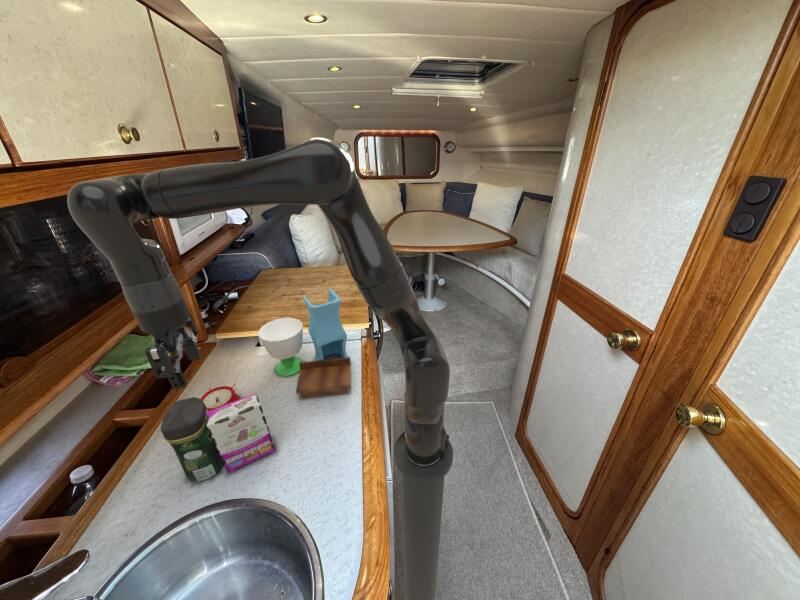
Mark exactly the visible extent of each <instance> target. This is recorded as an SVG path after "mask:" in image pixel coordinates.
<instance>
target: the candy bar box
mask: <svg viewBox="0 0 800 600" xmlns="http://www.w3.org/2000/svg"><path fill="white" fill-rule="evenodd" d="M206 422H207V428H208V430H209V433H210V435H211V437H212V439H213V441H214V443H215V445H216V447H217V450H218V452H219V454H220V456H221V458H222V460H223V464H224V467H225V469H226V472H227V473H228V474H231V473H234V472H236V471H238V470H240V469H242V468H244V467H246V466H249V465H250V464H252V463H254V462H256V461H258V460H261V459H262V458H264V457H267V456H269V455H271V454H273V453H275V452H277V449H276V445H275V442H274V438H273V436H272V432H271V429H270V427H269V424H268V420H267V418H266V415H265V412H264V408H263V406H262V403H261V400H260V398H259V394H258V392H255V393H252V394H250V395H246V396H244V397H242V398H240V399H239V400H237V401H234V402H231V403H229V404H226V405H224V406H221V407H219V408H216V409H213V410H211V411H208V412H206Z"/></svg>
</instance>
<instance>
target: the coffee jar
mask: <svg viewBox="0 0 800 600" xmlns="http://www.w3.org/2000/svg"><path fill="white" fill-rule="evenodd" d="M206 412H208V410H207V407H206V405H205V404H204V402H203V401H202V400H201V398H199V397H196V396H192V397H188V398H183V399H179V400H176V401H175V402H174V403H173V404H172V405H171V406H169V408H168V409H167V411H166V412H165V414H164V416H163V419H162V422H161V424H160V432H161V434H162V435H163V439H164V440H165V441H166V442H167V443H169V445H170V446H171V448H172V449H173V452H174V454H175V456H176V458H177V459H178V461H179V464H180V466H181V468H182V471H183V473H184V475H185V477H186V479H187V480H188V481H189V482H192V483H196V482H197V483H198V482H203V481H207V480H209V479H210V478H213V477H214V476H216V475H217V474H218V473H219V472H220V471H221V470H222V468H223V464H224V462H223V460H222V458H221V456H220V454H219V452H218V450H217V447H216V445H215V443H214V441H213V439H212V437H211V435H210V433H209V430H208V428H207V422H206Z"/></svg>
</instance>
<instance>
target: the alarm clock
mask: <svg viewBox="0 0 800 600" xmlns="http://www.w3.org/2000/svg"><path fill="white" fill-rule="evenodd" d="M236 385H237V383H235V382H234V384H233V385H232V386H229V385H221V386H216V387H214V388H212V389H211V387H209V388H208V391H206V392H205V393H204V394H203V395H202V396H201V398H200V399H201V400H202V401H203V402H204V404H205V405H206V407H207V410H208V411H211V410H213V409H216V408H219V407H221V406H224V405H226V404H229V403H231V402H234V401H237V400H239V399H241V398H240V395H238V394H237V393H236V390H235V389H234V386H236Z"/></svg>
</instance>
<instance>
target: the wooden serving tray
mask: <svg viewBox="0 0 800 600" xmlns="http://www.w3.org/2000/svg"><path fill="white" fill-rule="evenodd" d="M299 366H300V371H299V374H298V378H297V383H296V388H295V393H296V395H301V399H309V398H318V397H327V396H334V395H344V394H349V393H350V392H349V391H350V390H349V389H352V363H351V357H350V356H347V358H342V357H339V358H338V357H337V358H327V359H324V360H317V361H315V360H310V361H309V360H307V361H302V362H299Z"/></svg>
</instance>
